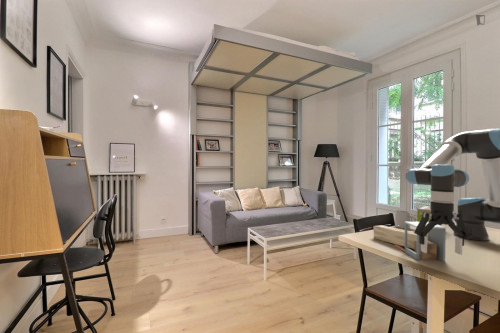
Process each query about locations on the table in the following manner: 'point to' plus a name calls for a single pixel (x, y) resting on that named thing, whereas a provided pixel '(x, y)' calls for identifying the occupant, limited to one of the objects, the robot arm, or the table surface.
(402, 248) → the grey open frame stool
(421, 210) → the tea box
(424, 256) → the block
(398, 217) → the mug
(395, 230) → the wooden beam
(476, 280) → the table surface
